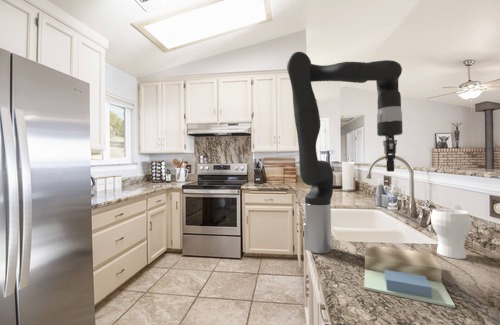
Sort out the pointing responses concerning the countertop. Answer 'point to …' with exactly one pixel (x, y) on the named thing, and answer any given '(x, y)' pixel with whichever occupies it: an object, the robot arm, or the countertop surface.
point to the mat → (377, 284)
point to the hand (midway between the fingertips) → (390, 171)
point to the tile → (408, 283)
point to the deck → (402, 262)
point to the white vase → (451, 231)
